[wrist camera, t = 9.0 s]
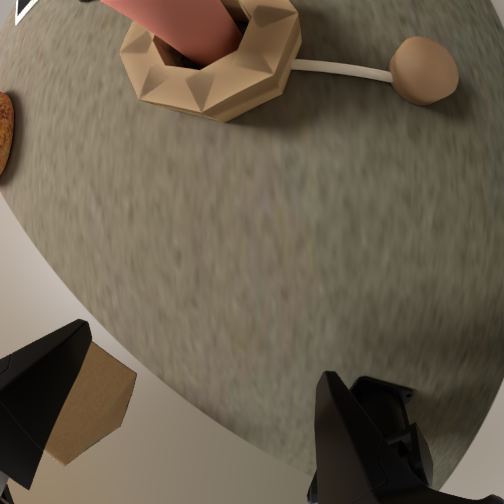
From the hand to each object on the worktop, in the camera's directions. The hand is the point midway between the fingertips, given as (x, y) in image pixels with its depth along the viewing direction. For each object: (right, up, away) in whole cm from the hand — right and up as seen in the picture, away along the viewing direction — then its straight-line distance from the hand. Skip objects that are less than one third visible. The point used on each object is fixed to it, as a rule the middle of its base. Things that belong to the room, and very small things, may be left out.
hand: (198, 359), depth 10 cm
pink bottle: (0, +19, +8) cm, 20 cm away
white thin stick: (+8, +16, +7) cm, 19 cm away
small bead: (+14, +16, +6) cm, 22 cm away
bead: (0, +19, +8) cm, 20 cm away
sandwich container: (-18, -14, +22) cm, 31 cm away
